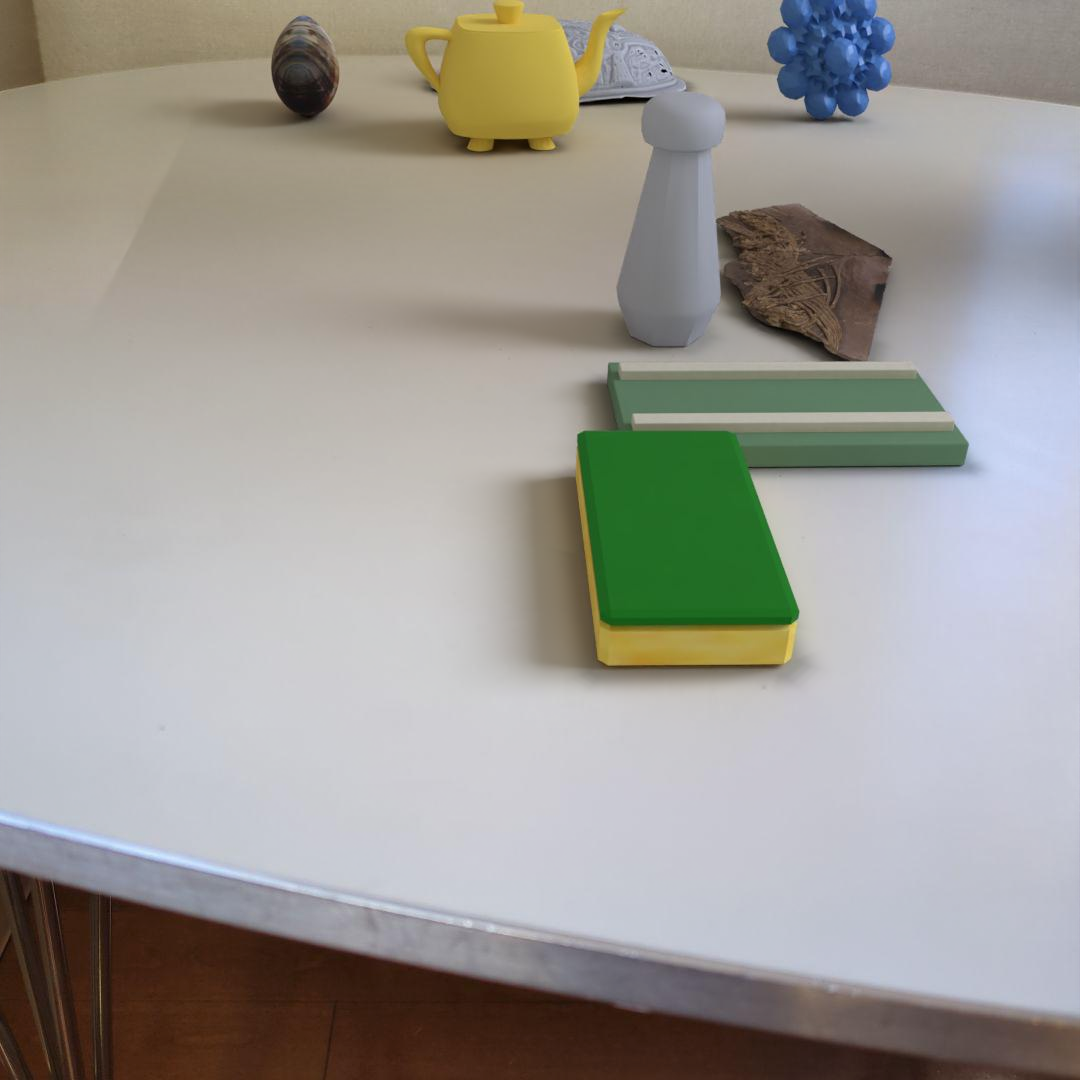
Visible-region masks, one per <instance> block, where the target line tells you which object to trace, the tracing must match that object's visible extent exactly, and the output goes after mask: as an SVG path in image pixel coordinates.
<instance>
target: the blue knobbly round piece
mask: <svg viewBox="0 0 1080 1080" xmlns="http://www.w3.org/2000/svg"><path fill="white" fill-rule="evenodd" d="M877 9H878V3H877V0H782V1H781V5H780V7H779V10H780V11H779V12H780V15H781V19H782V22H783V24H785V26H783V25H781V26H778V28H776V29H774V30H772V31H770V34H769V36H768V39H767V42H766V46H767V49H768V50H767V51H768V53H769V56H770V57H771V59H772V60H773V61H774V62H776V63H778V64H780V65H783V66H782V67H781V68H780V69H779V72H778V74H777V77H776V82H777V86H778V90H779V93H781V94H782V96H784V98H787V99H789V100H794V101H797V100H800V99H803V103H804V107H805V110H806V113H807V114H808V115H809V116H810V117H811V118H812V119H816V120H820V121H825V120H827V119H829V118H831V117H832V116H833V115H834V113H835V112H836V109H837V107H838V110H839V111H840V112H841V113H842V114H843V115H846V116H849V117H853V118H855V117H859V116H860V115H862V114H863V113H865V111H866V109H867V108H868V105H869V103H870V99H869V93H868V90H869V91H872V92H881V91H882V90H884V89H885V88H887V87H888V85H889V84H890V82H891V80H892V77H893V72H892V68H891V63H890V62H889V60H887V59H886V58H885V57H884V56H882V55H885V54H886V53H889V52H890V51H892V49H893V47H894V45H895V42H896V33H895V29H894V26H893V24H892V23H891V22H890V21H889V20H888V19H887V18H884V17H881V16H875V15H876V13H877Z"/></svg>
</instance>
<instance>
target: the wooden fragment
mask: <svg viewBox="0 0 1080 1080" xmlns="http://www.w3.org/2000/svg"><path fill="white" fill-rule="evenodd" d="M716 225H719V227H723V228H724V231H725V233H726V234H728V235H729V236H730V237H731V238H732V249H734V250H736V251H739V252H741V253H740V254H739V256H738V261H730V262H727V263H726V264H725V265H724V267H723V277H724V278H725V277H726V278H728V279H730V282H731V283H732V284H733V285H734V286H736V287H737V289H738V290H739V291H740V293H741V296H742V297H743V299H744V300H743V301H740V305H741V306H742V307H744V308H745V309H746V310H748V312H749V313H750V314H751V316H752V317H754V318H755V319H757V320H758V321H760V322H762V323H764V324H766V325H767V326H771V327H777V328H780V329H785V330H788V331H794V332H798V333H800V334H802V335H804V336H806V337H808V338H811V339H812V340H814V341H816V342H819V343H823V346H824V348H825V349H826V350H827V351H829V353H832V354H833V355H834V356H835V355H836V356H839V357H840V358H842V359H845V360H848V361H849V362H868V359H869V356H870V351H871V347H872V344H873V339H874V336H875V330H876V328H877V322H878V319H879V314H880V311H881V307H882V303H883V300H884V293H885V291H886V288H887V287H886V286H887V285H888V284H887V283H888V280H889V275H890V269H891V266H892V262H893V257H892V256H891V255H889V254H888V253H886V251H885V250H883V249H881V248H880V247H878V246H876V245H874V244H872V243H871V242H869V241H867V240H865V239H864V238H861V237H860V236H857V235H855V234H854V233H852V232H850V231H847V230H846V229H844V228H842V227H840V226H839V225H837V224H835V223H833V222H832V221H830V220H827V219H825V218H824V217H822V216H819V215H818V214H817V213H814V212H813V211H812V210H811V209H809V208H807V207H806V206H805V205H803V204H801V203H799V202H797V203H788V204H778V205H777V204H776V205H771V206H767V207H760V208H754V209H751V210H749V209H745V210H734V211H730V212H729V213H728V215H723V216H720V217H716Z"/></svg>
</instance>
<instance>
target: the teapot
mask: <svg viewBox="0 0 1080 1080" xmlns="http://www.w3.org/2000/svg"><path fill="white" fill-rule="evenodd" d="M492 6H493V10H494V12H495V13H494V12H493V13H492V12H491V13H469V14H462V15H458V16H457V17H456V18H455V20H454V22H453V24H452V28H451V29H446V28H441V27H432V26H415V27H412V28H410V29H409V30H407V32H406V33H405V36H404V43H405V47H406V50H407V51H406V52H407V53H408V55H409V57H410V59H411V60H412V62H413V64H414V65H415V67H416V68H417V70H418V71H419V72H420V73H421V75H422V76H423V77H424V78H425V79H426V81H427V82H428V83H429V84H430V86H431V85H432V86H433V87H434V88H435V89H434V90H435V91H436V92H437V104H438V109H439V111H440V114H441V116H442V117H443V119H444V121H445V123H446V125H447V127H448V128H449V130H450V132H451V133H452V134H454V135H456V136H458V137H462V138H470V139H469V142H468V144H467V146H466V148H467V150H469V151H473V152H488V151H491V150H493V149H494V143H495V140H525V139H526V140H527V142H528V146H529V148H530V149H533V150H535V151H550V150H554V149H556V145H555V143H554V141H553V139H552V137H553V138H554V137H559V136H565V135H567V134H569V133H570V131H571V130H572V128H573V126H574V125H575V123H576V120H577V119H578V116H579V112H580V102H579V98H580V97H581V96H583V95H584V94H586V93H587V92H588V91H589V90H590V89H591V88H592V87H593V85H594V84H595V82H596V80H597V78H598V76H599V73H600V69H601V64H602V58H603V51H604V44H605V40H606V36H607V33H608V31H609V28H610V26H611V25H612V23H615V21H616V20H617V19H618V18H619V17H620V16H622V15H623V14H624V13H625V12H626V11H628V8H626V7H625V8H624V7H623V8H616V9H613V10H608V11H604V12H603V13H601V14H599V15H598V16H597V17H596V19H595V20H594V21H593V22H594V23H593V25H592V28H591V31H590V35H589V40H588V44H587V48H586V50H585V52H584V54H583V56H582V57H581V58H580V59H579V60H578V61H576V62H575V63H574V62H573V58H572V54H571V51H570V48H569V45H568V42H567V39H566V36H565V33H564V30H563V28H562V26H561V24H560V23H559V22H558V21H557V20H556V19H557V18H556V17H554V16H553V15H548V14H542V13H541V14H540V13H523V11H524V7H525V3H524V2H523V1H521V0H495V1H493V2H492ZM431 40H432V41H433V40H440V41H445V42H446V41H447V43H446V46H445V48H444V53H443V56H442V60H441V66H440V71H439V72H440V76H439V77H438V76H437V74H438V73H436V72H437V71H436V70H435V69H434V67H433V65H432V64H431V61H430V59H429V56H428V52H427V50H426V42H428V41H431ZM433 87H432V88H433Z"/></svg>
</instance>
